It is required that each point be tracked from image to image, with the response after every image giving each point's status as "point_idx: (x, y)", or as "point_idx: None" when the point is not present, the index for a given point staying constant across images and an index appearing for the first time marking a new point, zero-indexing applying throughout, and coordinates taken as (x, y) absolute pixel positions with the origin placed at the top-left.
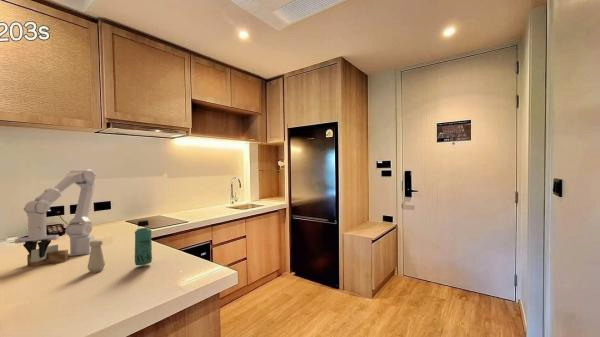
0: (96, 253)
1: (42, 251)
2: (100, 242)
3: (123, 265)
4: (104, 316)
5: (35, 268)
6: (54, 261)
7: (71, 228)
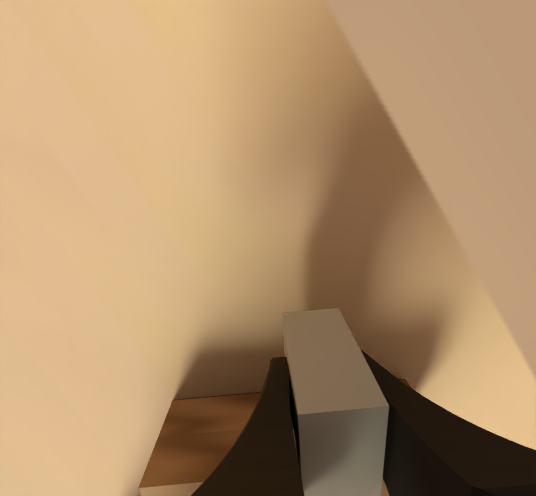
0: None
1: (259, 404)
2: None
3: None
4: None
5: (301, 298)
6: (241, 402)
7: None
